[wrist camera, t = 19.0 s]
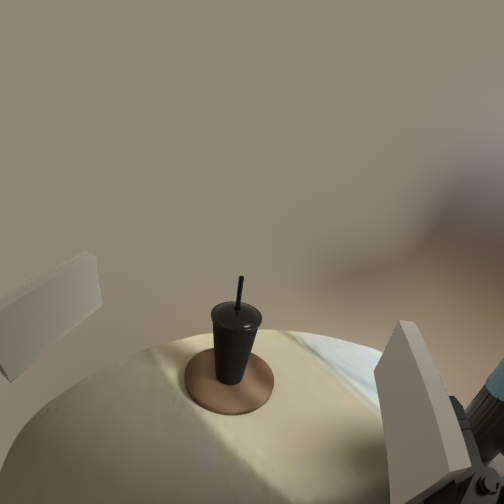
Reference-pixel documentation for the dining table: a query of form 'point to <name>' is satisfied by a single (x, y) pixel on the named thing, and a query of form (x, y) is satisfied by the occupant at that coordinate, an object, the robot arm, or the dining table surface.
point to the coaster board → (228, 396)
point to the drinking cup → (233, 337)
